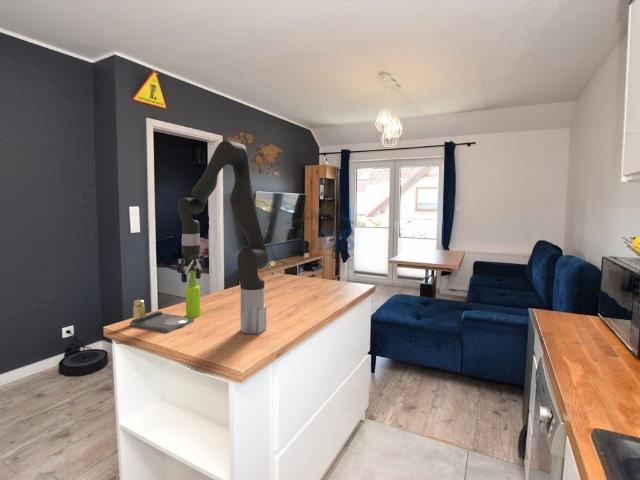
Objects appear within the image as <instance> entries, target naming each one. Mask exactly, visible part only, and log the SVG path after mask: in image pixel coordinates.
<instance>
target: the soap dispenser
mask: <svg viewBox="0 0 640 480" xmlns="http://www.w3.org/2000/svg"><path fill="white" fill-rule="evenodd" d="M195 273H196V271H195V270H188V271H187V274H190V277H189V278H188V285H187V286H185V315H186V316H185V317H190V318H194V319H195V318H197V317H200V316H201V286H200V285H198V279H196V278H195Z"/></svg>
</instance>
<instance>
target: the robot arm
mask: <svg viewBox="0 0 640 480" xmlns="http://www.w3.org/2000/svg"><path fill="white" fill-rule="evenodd" d="M226 166H231V167H232V170H233V174H234V185H233V187H232V191H231V194H230V205H231V211H232V215H233V217H234V219H235V221H236V223H237V224H238V225H239V228H241V230H242V231H243V233H244V235H245V237H246V241H247V244H248V246H247V247H243V248H242V249H241V250H240V251H239V252H238V255H237V277H238V281H239V284H240V286H239V287H240V332H241V333H243V334H247V335H248V334H249V335H256V334H257V335H260V334H261V333H263V332H264V331H265V330H267V305H265V281H264V279H263V278H259V273H258V270H261V269H264V268H265V267H267V265H268V263H269V253H268V250H267V247H266V243H265V240H264V237H263V233H262V230H261V225H260V220H259V215H258V210H257V205H256V201H255V196H254V191H253V186H252V180H251V175H250V163H249V155H248V151H247V148H246V146H245V145H244V144H242V143H239V142H235V141H232V140H222V141H220V142H219V143H218V144H217V146H216V148H215V150H214V152H213V154H212V156H211V157H210V160H209V161H208V164H207V166H206V169H204V172H203V173H202V175H201V177H200V178H199V180H198V181H197V182H196V184H195V185H194V186H193V188H192V189H191V196H192V197H182V198H180V199H179V201H178V203H177V211H178V214H179V218H180V221H181V226H182V227H181V229H182V231H181V235H182V236H181V255H182V257H183V258H177V262H176V263H177V267H176V272H177V273H179V274H181V275H180V279H181V283H187V282H188V273H187V271H190V269H191V268H194V269H195V270H194V271H196V273H195V278H196V279H197V280H200V279H201V277H202V274H201V273H202V270H203V269H205V257H204V256H205V255H203V254H201V236H200V235H201V234H200V231H201V230H200V221H198V220H197V219H193V216H192V215H198V214H201V213H202V212H203V211H204V209H205V207H206V204H207V202H208V199H209V197H210V196H211V195H212V194H213V193H214V191H215V189H216V187H217V184H218V178H219V177H218V176H219V173H220V172H221V171H222V169H223V168H224V167H226Z"/></svg>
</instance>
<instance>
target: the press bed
mask: <svg viewBox="0 0 640 480" xmlns="http://www.w3.org/2000/svg"><path fill="white" fill-rule="evenodd" d="M194 319H195V317H194V318H190V317H186V316H182V315H176V314H171V313H170V314H169V313H163V312H162V311H159V310H156V311H154V312H151V313H149V314H145V317H144V318H141V319H136V318H133V319H131V321H129V326H131V327H137V328H142V329H146V330H153V331H156V332H157V331H159V332H164V333H170V332H174V331H175V330H177V329H179V328H182V327H185V326H187V325H189V324H191V323H194V321H195V320H194Z"/></svg>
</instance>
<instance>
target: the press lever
mask: <svg viewBox="0 0 640 480" xmlns="http://www.w3.org/2000/svg"><path fill="white" fill-rule="evenodd" d="M132 308H133V319H141V318H144V317H145V315H146V305H145V300H144V299H136V300H134V301H133V306H132Z"/></svg>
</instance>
